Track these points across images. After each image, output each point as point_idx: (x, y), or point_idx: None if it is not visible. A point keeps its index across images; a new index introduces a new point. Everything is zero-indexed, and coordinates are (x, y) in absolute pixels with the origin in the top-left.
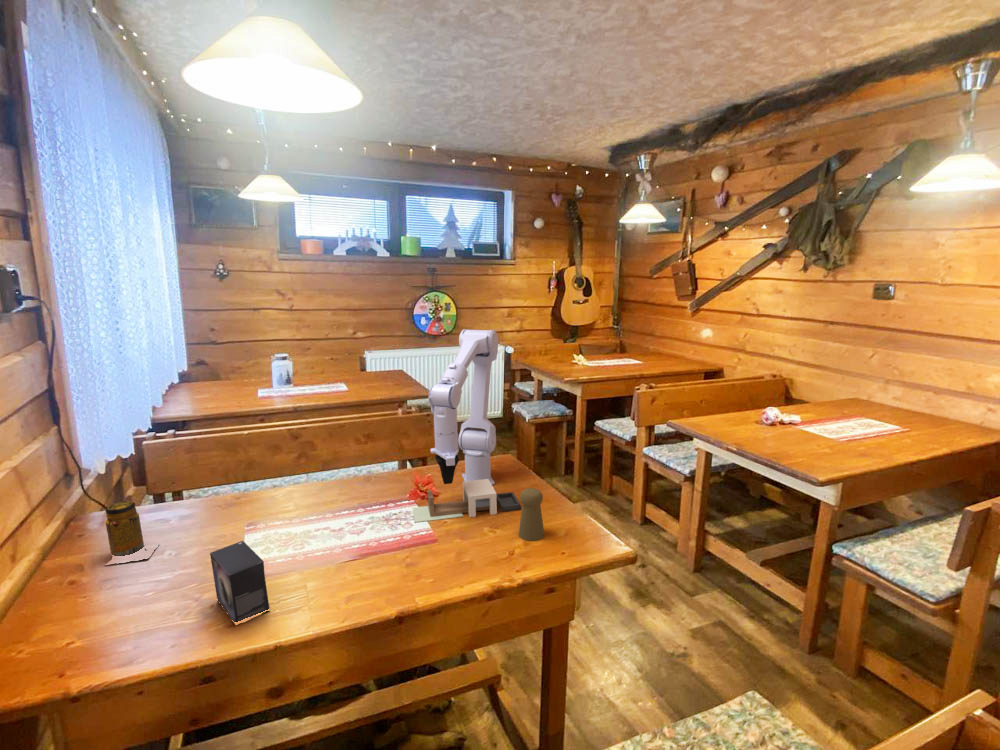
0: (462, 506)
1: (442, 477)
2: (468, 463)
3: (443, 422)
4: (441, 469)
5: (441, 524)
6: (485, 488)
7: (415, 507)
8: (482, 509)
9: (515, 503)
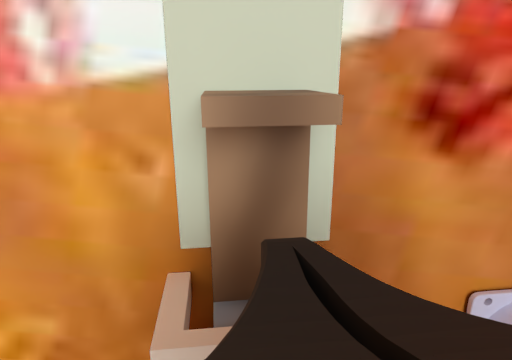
0: (241, 262)
1: (265, 260)
2: None
3: None
4: (240, 323)
5: (118, 139)
6: None
7: (342, 16)
8: None
9: None
